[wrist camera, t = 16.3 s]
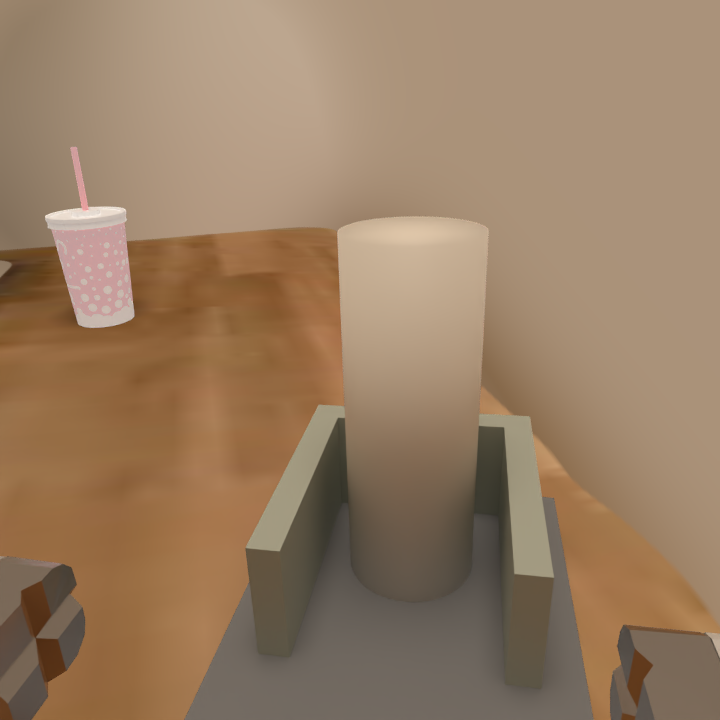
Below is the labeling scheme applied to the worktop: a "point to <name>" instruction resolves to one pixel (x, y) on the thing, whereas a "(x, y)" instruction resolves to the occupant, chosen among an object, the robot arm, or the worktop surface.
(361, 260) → the tall white cylinder
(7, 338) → the worktop surface
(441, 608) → the cradle jig
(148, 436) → the worktop surface
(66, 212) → the beverage cup
